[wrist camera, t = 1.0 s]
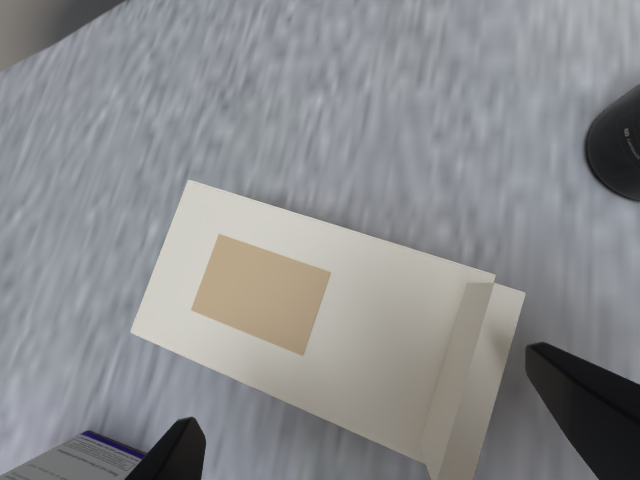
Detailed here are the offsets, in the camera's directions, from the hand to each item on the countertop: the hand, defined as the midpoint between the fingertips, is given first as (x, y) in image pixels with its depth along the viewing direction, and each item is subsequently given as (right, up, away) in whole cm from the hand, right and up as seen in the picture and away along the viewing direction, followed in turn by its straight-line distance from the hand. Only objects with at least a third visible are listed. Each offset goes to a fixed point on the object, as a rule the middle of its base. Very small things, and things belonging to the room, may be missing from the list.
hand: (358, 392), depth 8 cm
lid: (-2, +1, +7) cm, 7 cm away
